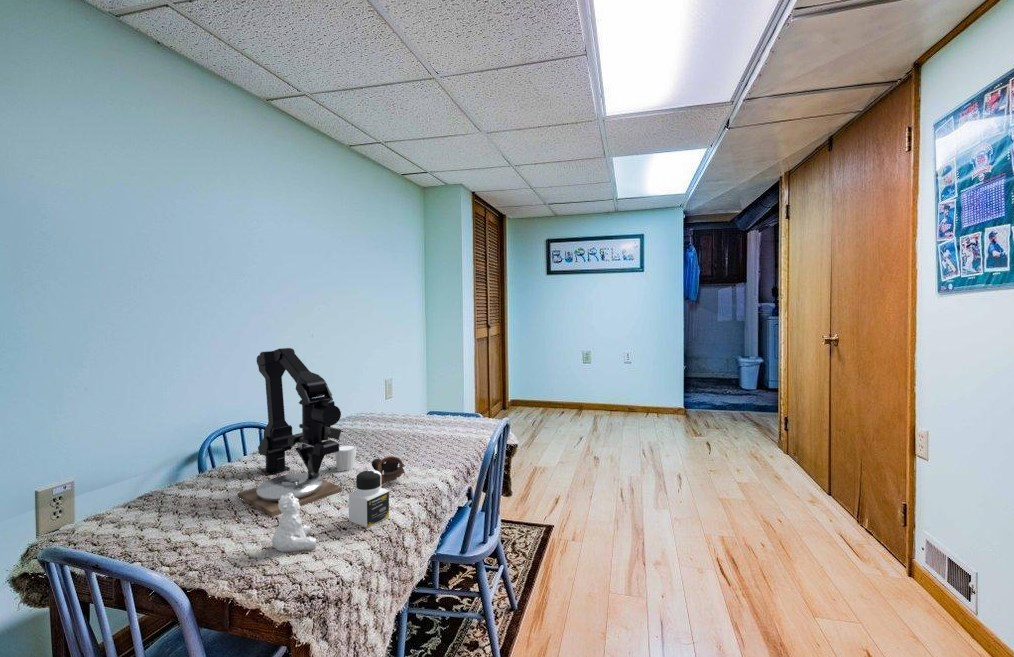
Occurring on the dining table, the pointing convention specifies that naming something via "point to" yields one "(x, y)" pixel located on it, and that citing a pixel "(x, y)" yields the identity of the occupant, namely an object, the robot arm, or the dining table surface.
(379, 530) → the dining table surface
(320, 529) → the dining table surface
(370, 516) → the medicine bottle
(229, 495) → the dining table surface
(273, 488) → the handwheel
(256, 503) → the walnut board
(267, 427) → the robot arm
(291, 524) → the sitting furry creature
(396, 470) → the pottery mug
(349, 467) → the shot glass
